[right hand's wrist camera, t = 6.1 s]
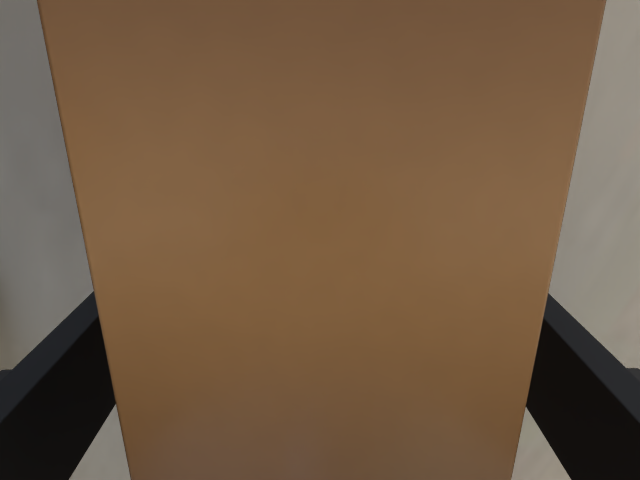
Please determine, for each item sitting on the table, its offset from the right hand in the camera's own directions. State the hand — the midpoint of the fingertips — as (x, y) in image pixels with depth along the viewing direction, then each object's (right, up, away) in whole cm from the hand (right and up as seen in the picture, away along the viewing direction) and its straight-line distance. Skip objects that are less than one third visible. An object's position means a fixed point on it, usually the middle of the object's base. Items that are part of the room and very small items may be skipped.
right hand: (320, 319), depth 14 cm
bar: (0, +9, -2) cm, 9 cm away
